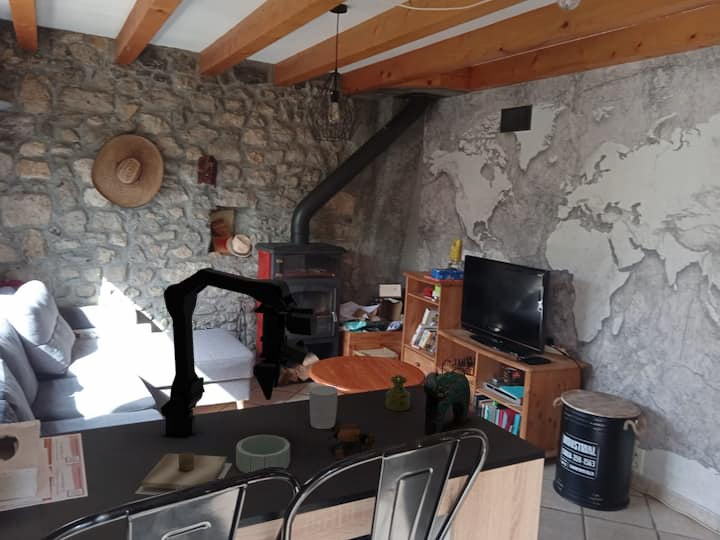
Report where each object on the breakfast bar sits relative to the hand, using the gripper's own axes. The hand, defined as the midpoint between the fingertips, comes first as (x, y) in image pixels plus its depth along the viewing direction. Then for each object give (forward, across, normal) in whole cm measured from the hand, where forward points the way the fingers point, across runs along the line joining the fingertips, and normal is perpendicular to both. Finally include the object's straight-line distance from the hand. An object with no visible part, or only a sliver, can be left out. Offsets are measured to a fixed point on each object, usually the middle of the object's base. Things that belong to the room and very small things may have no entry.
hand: (271, 393), depth 147 cm
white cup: (+14, +16, -12) cm, 24 cm away
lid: (+13, -19, +15) cm, 28 cm away
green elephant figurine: (+14, +18, -46) cm, 51 cm away
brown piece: (+14, -1, -20) cm, 25 cm away
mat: (+14, -19, +15) cm, 28 cm away
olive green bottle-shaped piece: (+14, +33, -33) cm, 49 cm away
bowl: (+14, -11, 0) cm, 17 cm away
